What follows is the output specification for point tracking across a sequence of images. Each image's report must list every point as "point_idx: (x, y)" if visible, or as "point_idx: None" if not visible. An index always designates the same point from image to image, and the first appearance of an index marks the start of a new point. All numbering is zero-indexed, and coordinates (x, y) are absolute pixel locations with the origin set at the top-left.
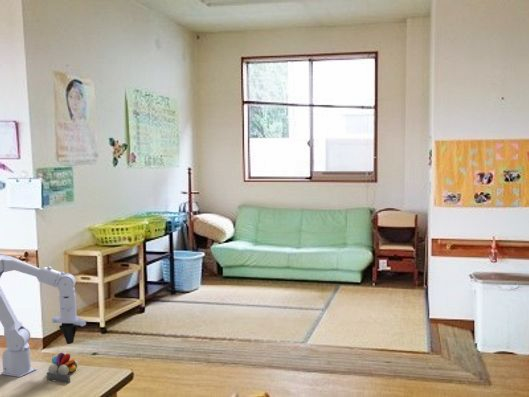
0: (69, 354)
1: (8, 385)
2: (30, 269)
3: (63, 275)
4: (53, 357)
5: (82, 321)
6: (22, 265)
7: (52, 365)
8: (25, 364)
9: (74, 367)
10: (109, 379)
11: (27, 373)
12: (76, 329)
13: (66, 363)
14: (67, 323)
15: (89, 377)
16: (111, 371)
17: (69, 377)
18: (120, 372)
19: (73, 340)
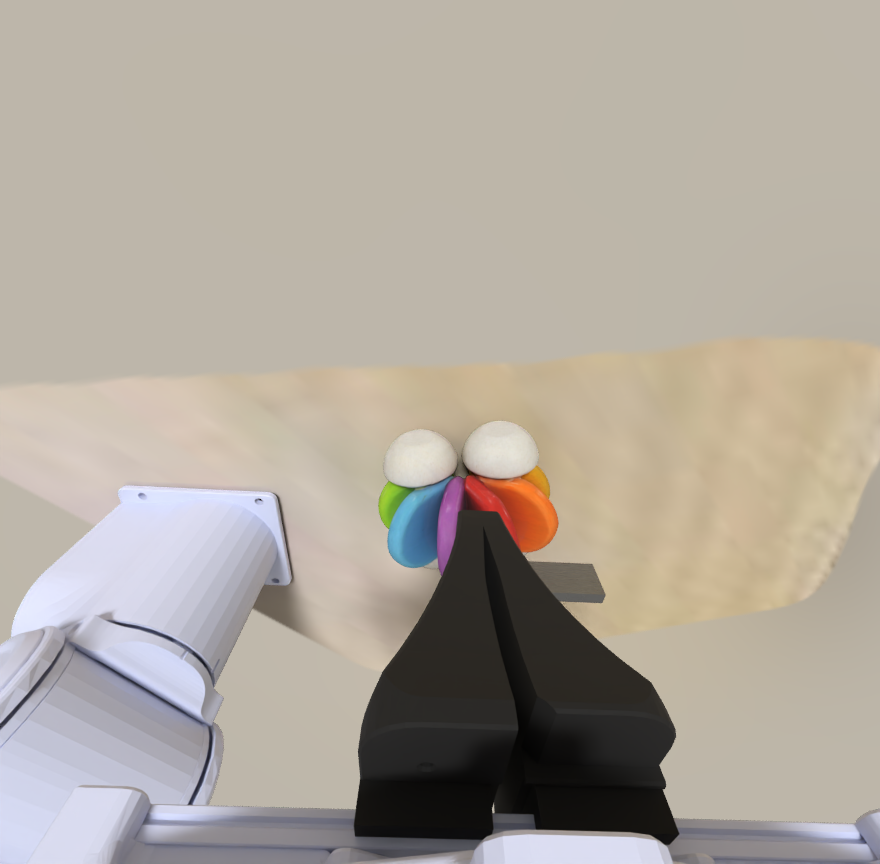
0: (517, 539)
1: (330, 638)
2: None
3: None
4: (403, 562)
5: None
6: None
7: (436, 567)
8: (259, 590)
9: (549, 494)
10: (799, 493)
11: (285, 545)
12: (587, 637)
13: (525, 552)
14: (481, 837)
15: (665, 498)
16: (778, 392)
17: (600, 589)
18: (851, 391)
19: (504, 527)
